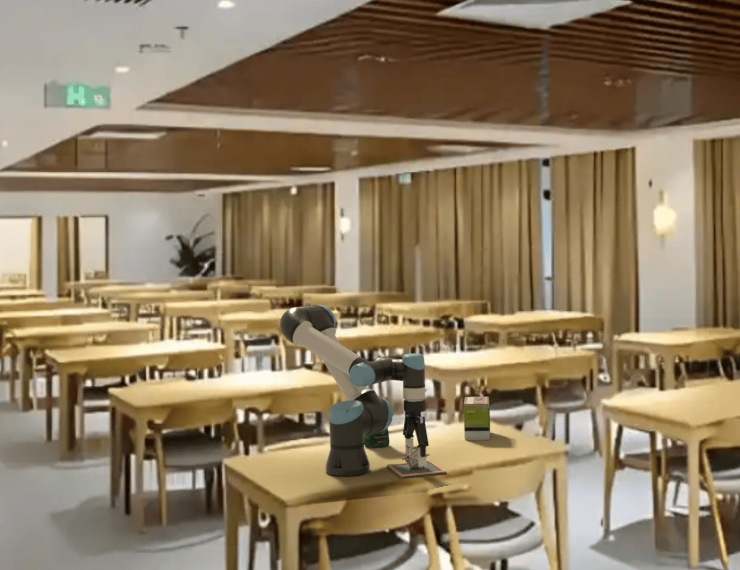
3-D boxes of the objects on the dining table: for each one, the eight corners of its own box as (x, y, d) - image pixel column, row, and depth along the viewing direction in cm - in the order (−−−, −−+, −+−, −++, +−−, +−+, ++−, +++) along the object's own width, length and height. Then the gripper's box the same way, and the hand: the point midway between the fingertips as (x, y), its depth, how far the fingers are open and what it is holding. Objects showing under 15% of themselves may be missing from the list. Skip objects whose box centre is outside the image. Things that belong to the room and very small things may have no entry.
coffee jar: (370, 449, 345) (369, 400, 344) (360, 445, 352) (359, 397, 351) (393, 446, 349) (391, 398, 348) (382, 442, 356) (381, 395, 355)
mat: (401, 478, 303) (401, 475, 303) (386, 467, 318) (386, 464, 318) (446, 473, 307) (446, 471, 307) (430, 462, 322) (430, 460, 322)
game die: (420, 480, 311) (426, 461, 305) (397, 470, 313) (402, 451, 307) (428, 462, 318) (434, 443, 312) (405, 453, 320) (411, 433, 314)
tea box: (465, 432, 371) (464, 396, 370) (490, 432, 370) (489, 396, 369) (464, 440, 356) (463, 402, 355) (490, 440, 355) (489, 402, 354)
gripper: (437, 404, 300) (438, 469, 302) (413, 392, 324) (414, 452, 325) (415, 406, 298) (417, 471, 300) (393, 394, 322) (394, 454, 323)
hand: (415, 461), depth 312 cm, fingers open, 12 cm apart
